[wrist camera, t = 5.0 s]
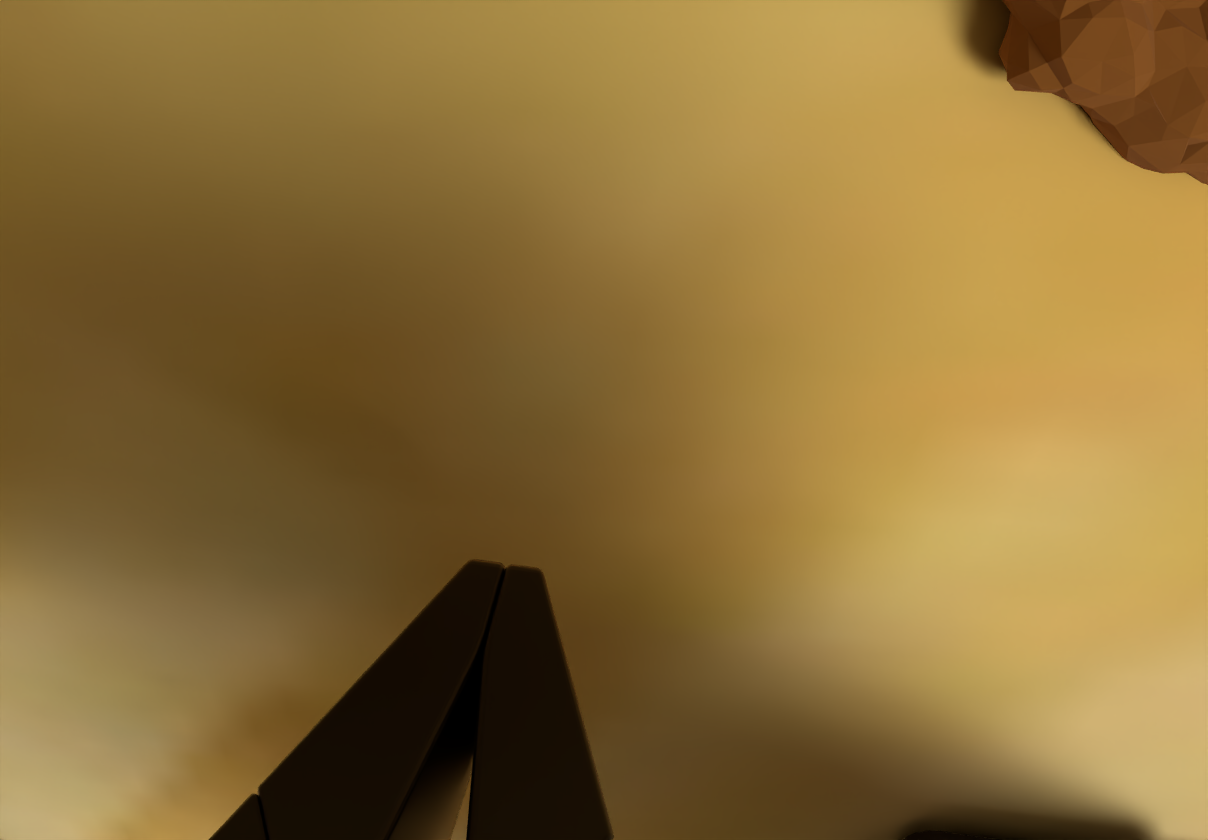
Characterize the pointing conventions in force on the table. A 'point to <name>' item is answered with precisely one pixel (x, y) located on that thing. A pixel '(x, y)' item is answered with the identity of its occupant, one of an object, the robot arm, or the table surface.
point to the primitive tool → (1121, 72)
